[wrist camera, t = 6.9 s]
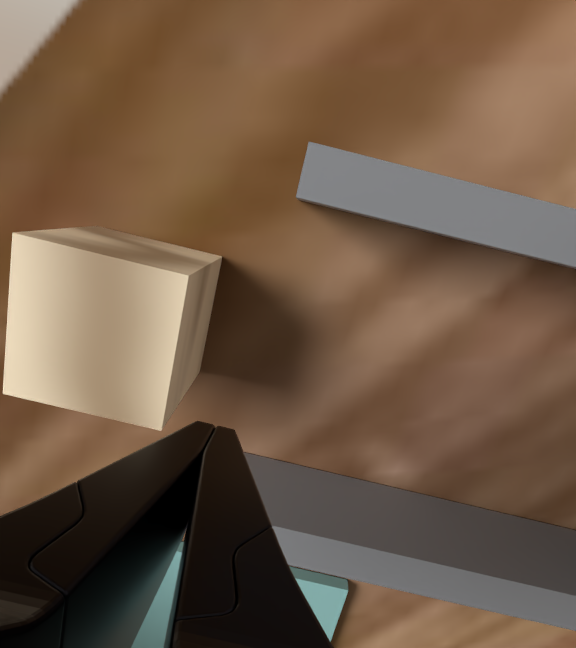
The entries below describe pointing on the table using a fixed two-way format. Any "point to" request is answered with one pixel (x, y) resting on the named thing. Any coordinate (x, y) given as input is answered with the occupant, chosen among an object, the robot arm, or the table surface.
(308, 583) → the mat
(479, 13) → the table surface
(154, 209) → the table surface
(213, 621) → the robot arm
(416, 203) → the grey u-shaped frame
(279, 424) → the table surface
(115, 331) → the wooden block
